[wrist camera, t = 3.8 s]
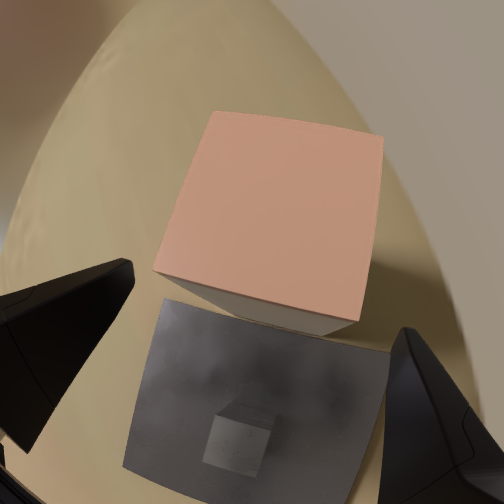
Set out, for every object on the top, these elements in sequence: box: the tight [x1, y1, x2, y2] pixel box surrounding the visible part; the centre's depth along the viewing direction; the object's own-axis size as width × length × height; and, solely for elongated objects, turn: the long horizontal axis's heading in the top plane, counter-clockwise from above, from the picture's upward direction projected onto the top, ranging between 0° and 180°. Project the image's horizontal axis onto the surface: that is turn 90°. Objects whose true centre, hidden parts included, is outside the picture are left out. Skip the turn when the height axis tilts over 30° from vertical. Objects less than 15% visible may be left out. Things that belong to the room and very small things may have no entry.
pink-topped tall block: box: [152, 111, 384, 337], centre depth 14 cm, size 6×6×12 cm
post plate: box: [122, 298, 391, 504], centre depth 15 cm, size 13×15×5 cm
